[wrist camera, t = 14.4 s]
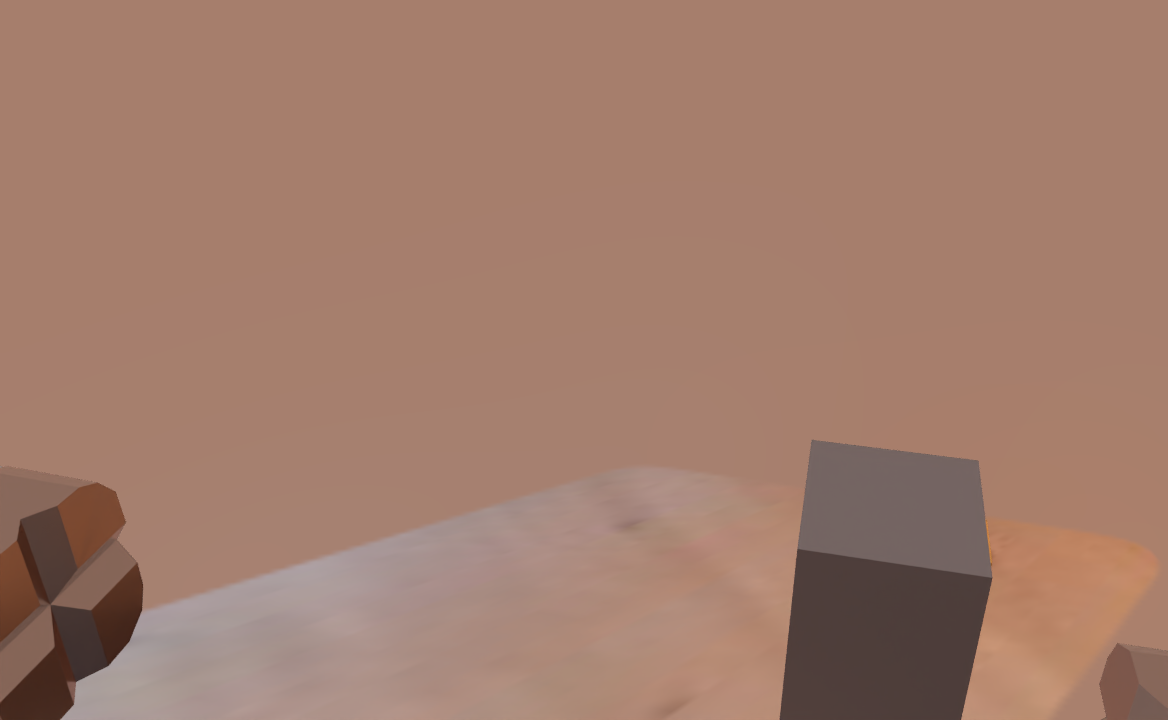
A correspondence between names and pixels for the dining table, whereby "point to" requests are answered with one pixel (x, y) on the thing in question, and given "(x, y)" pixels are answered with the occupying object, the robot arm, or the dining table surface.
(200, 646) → the dining table surface
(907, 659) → the tall taupe pillar
